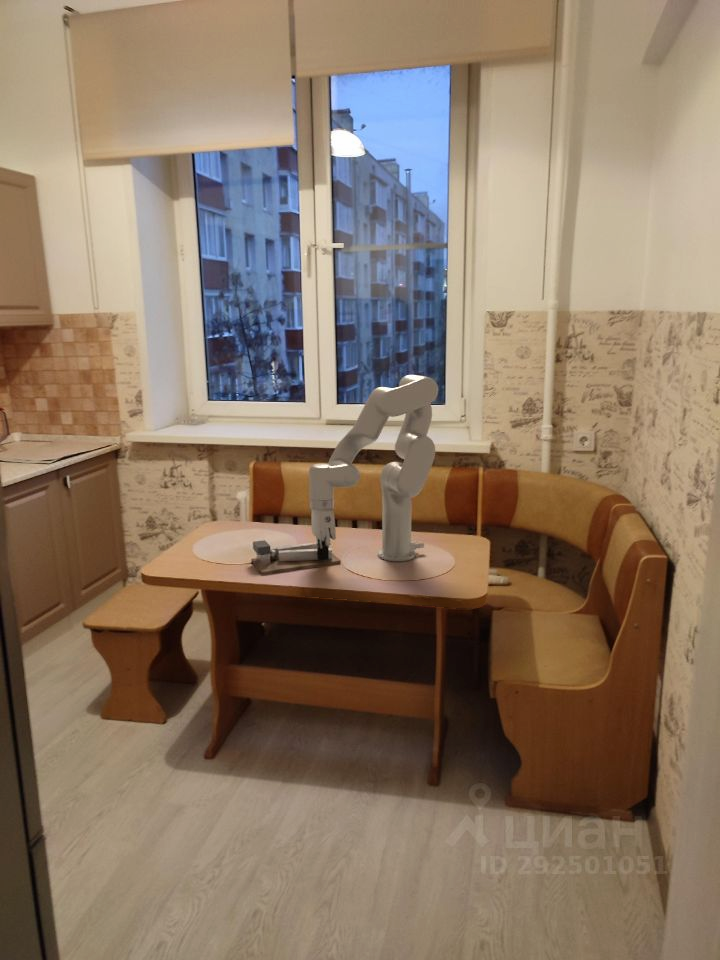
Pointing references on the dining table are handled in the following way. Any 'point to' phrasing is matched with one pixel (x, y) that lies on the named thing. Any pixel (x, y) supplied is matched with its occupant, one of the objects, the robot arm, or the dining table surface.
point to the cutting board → (292, 565)
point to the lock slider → (261, 547)
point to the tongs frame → (265, 558)
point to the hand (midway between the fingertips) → (323, 558)
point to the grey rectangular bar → (297, 555)
